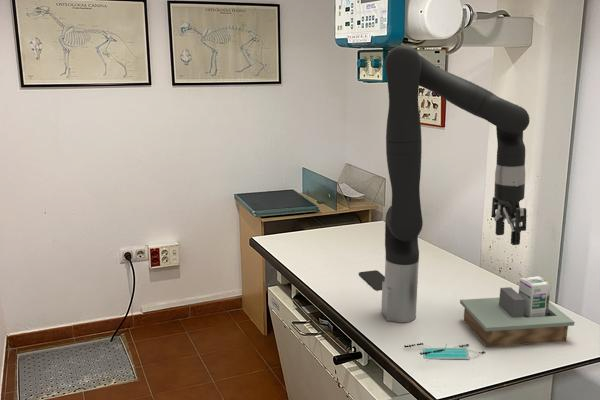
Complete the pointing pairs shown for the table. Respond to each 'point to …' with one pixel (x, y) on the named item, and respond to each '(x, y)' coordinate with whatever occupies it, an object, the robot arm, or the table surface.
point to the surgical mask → (445, 353)
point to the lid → (511, 313)
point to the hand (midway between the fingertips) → (507, 239)
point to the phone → (373, 279)
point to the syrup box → (535, 296)
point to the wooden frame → (516, 334)
